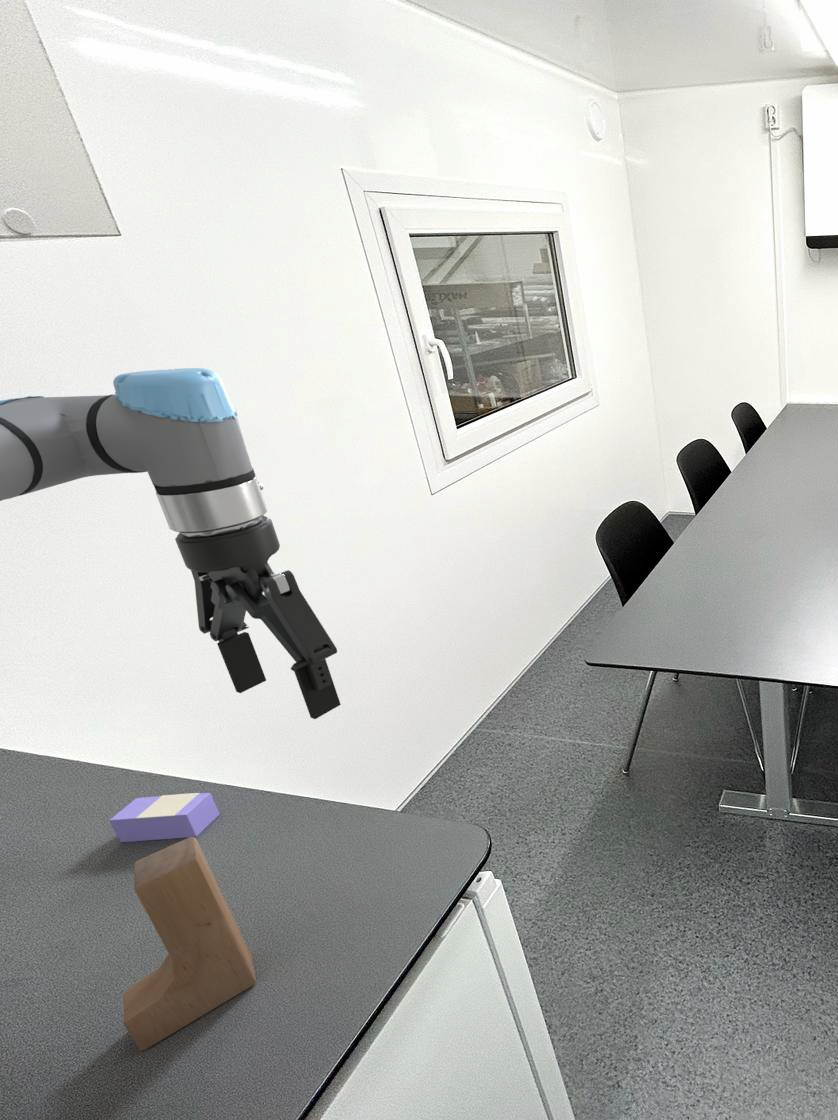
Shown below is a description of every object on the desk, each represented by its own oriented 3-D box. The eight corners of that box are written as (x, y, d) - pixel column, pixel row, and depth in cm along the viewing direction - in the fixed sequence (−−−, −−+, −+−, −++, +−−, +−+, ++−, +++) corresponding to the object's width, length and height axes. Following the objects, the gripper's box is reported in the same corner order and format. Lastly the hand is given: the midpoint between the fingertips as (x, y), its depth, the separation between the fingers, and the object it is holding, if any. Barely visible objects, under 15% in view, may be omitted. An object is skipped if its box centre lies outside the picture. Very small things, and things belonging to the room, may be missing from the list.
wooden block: (140, 1054, 61) (60, 923, 55) (139, 1020, 64) (63, 891, 58) (257, 984, 67) (197, 858, 61) (252, 955, 70) (194, 833, 64)
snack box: (120, 842, 85) (108, 820, 84) (147, 819, 89) (136, 797, 88) (196, 837, 86) (185, 814, 84) (220, 814, 90) (210, 791, 88)
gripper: (340, 525, 62) (393, 702, 69) (198, 501, 71) (258, 660, 79) (255, 552, 56) (323, 745, 63) (110, 523, 65) (185, 694, 72)
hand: (287, 698), depth 71 cm, fingers open, 13 cm apart
